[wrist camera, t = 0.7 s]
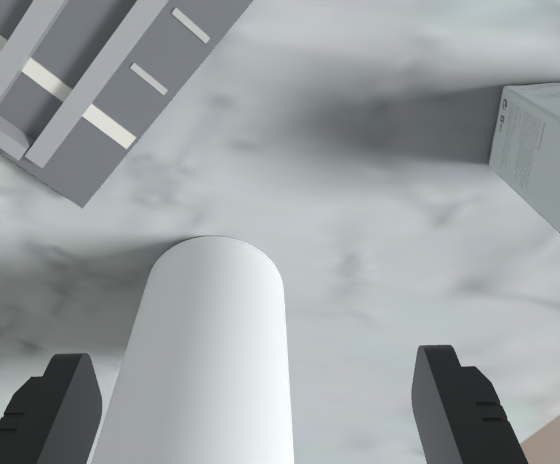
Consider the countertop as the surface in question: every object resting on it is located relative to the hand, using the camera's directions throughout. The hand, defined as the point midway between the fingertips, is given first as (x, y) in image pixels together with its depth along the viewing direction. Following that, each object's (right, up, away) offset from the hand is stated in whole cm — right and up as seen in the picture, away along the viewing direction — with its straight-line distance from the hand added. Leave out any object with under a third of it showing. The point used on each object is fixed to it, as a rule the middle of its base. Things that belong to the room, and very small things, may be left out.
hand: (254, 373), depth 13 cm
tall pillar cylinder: (-4, -1, +29) cm, 29 cm away
